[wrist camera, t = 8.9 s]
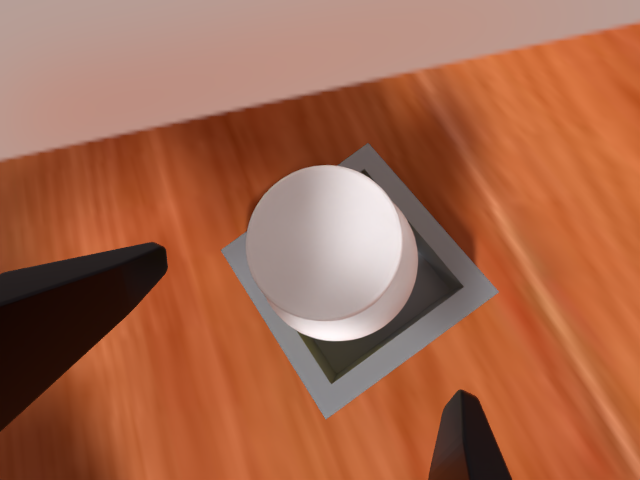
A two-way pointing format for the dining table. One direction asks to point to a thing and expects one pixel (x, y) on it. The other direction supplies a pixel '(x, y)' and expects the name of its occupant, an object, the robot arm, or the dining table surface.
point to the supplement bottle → (331, 253)
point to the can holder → (404, 329)
